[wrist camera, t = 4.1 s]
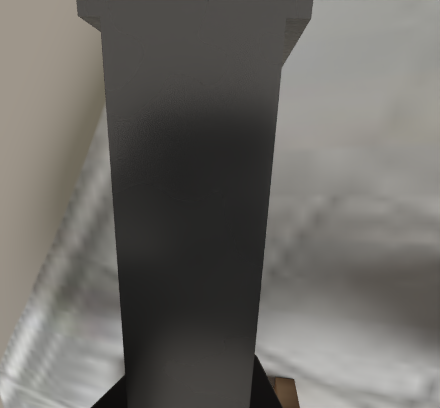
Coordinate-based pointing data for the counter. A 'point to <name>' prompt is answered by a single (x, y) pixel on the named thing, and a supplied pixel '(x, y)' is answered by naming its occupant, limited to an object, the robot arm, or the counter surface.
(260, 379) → the robot arm
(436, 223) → the counter surface
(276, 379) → the wooden frame
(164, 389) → the gray arch stand
